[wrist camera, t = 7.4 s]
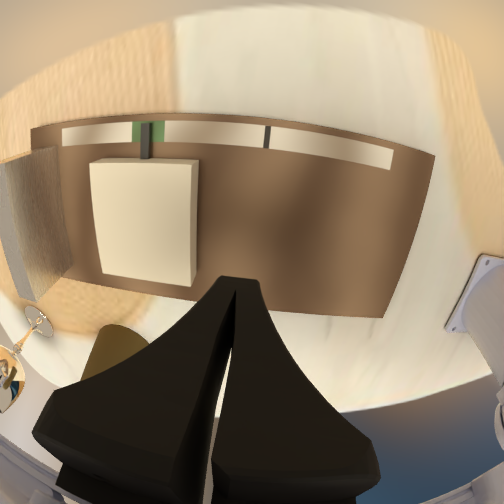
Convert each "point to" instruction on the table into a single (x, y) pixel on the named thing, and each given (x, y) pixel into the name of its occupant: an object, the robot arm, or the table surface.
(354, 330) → the table surface
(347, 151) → the gauge base
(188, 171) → the carriage
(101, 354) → the cork
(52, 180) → the gray stone tile
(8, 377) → the wineglass
